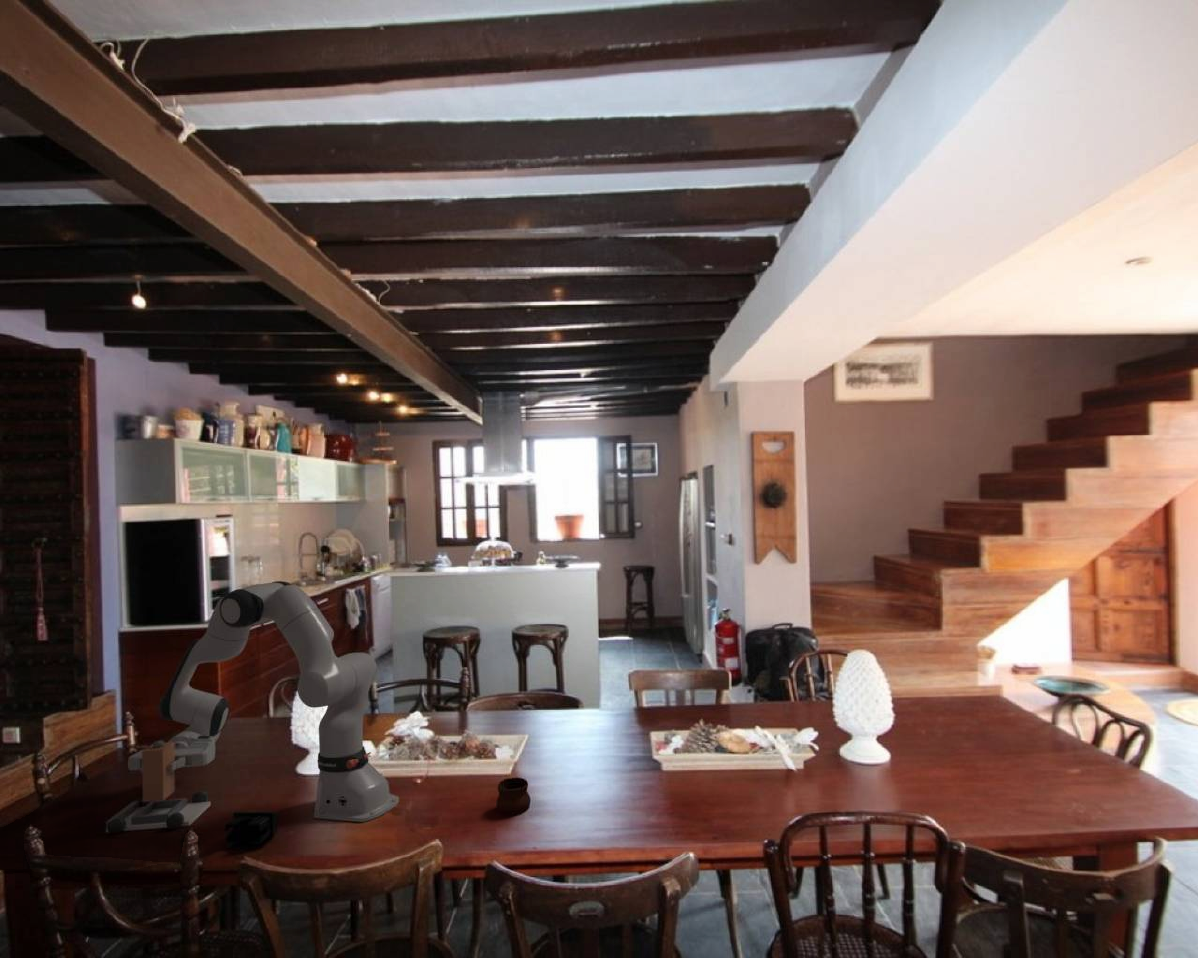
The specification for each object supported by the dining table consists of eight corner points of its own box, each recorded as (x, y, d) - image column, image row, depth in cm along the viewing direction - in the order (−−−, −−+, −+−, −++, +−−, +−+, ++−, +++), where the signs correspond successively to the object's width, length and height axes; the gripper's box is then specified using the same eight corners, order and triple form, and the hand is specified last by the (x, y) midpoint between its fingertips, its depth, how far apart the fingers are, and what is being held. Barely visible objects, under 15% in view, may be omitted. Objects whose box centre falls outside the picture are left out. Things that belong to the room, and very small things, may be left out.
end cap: (279, 834, 171) (279, 807, 171) (263, 849, 164) (262, 820, 164) (241, 834, 172) (240, 807, 172) (223, 849, 165) (222, 820, 165)
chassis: (213, 802, 192) (212, 789, 192) (186, 828, 176) (185, 814, 177) (136, 808, 190) (136, 795, 190) (102, 835, 174) (101, 820, 174)
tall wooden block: (163, 800, 181) (162, 745, 181) (142, 801, 180) (142, 746, 180) (175, 790, 187) (174, 737, 187) (155, 792, 186) (154, 738, 186)
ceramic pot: (471, 802, 185) (471, 776, 185) (535, 790, 192) (534, 764, 192) (489, 833, 169) (489, 804, 169) (557, 818, 176) (557, 790, 176)
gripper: (143, 740, 195) (114, 759, 182) (220, 736, 197) (197, 754, 184) (144, 763, 195) (115, 783, 181) (220, 758, 197) (197, 778, 183)
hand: (156, 768), depth 182 cm, fingers closed on tall wooden block, 5 cm apart
